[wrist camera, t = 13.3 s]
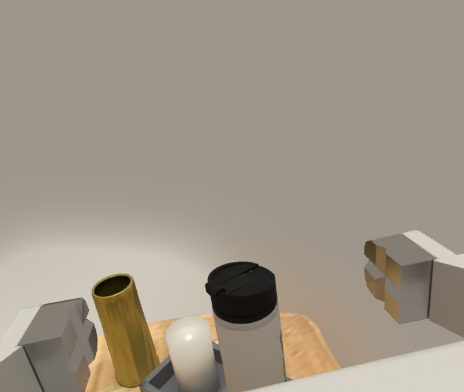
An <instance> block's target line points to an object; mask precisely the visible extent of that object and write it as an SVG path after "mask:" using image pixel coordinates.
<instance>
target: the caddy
mask: <svg viewBox="0 0 464 392" xmlns="http://www.w3.org/2000/svg"><path fill="white" fill-rule="evenodd" d="M212 346H213V351H214V356H215V361H216V366H217V371H218V376H219V381H220V387H219V390H218V392H228V389H227V384H226V379H225V373H224V368H223V363H222V358H221V352H220V347H219V345H218V344H216V343H214V342H212ZM286 380H287V381H291V380H292V379H290V378H288V377H286ZM139 387H140V390H141V392H179V389H178V385H177V381H176V377H175V374H174V370H173V366H172V362H171V358H170V355H169V356H168V357H167V358H166V359H165V360H164V361H163V362H162V363H161V364H160V365H159V366H158V367H157V368H156V369H155V370H154V371H153V372H151V373H150V374H149V375H148V376H147V377H146V378H145V379H144V380H143V381H142V382H141V383H140V384H139Z"/></svg>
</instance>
